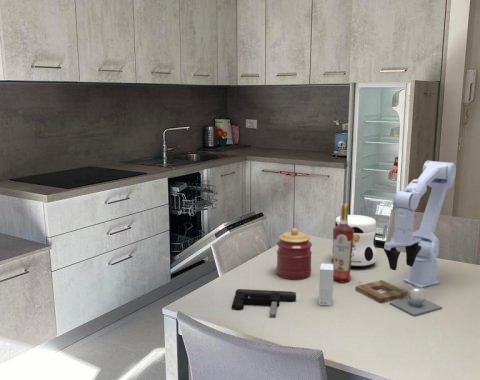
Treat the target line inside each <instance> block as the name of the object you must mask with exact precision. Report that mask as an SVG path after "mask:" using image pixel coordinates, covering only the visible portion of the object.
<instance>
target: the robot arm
mask: <svg viewBox="0 0 480 380" xmlns="http://www.w3.org/2000/svg"><path fill="white" fill-rule="evenodd" d="M456 174H457V167H456V164H455V163H454V162H447V161H445V162H444V161H434V160H430V159H429V160H426V161H424V164H423V166H422V173H420V175H419V177H418V178H417V179H412V180H411V181H410V182H409V183H408V185H407V186H406V187H404V189H403V190H398V191H397V192H395V193H394V195H393V198H392V199H393V200H392V206H393V212H394V214H395V218H394V234H393V235H394V236H393V237H392V239H391V240H389V241H388V242H384V246H383V251H384V253H385V255H386V257H387V260H388V265H389V266H388V267H389V269H390V270H393V271H397V267H398V262H399V257H400V255H401V251H399V250H398V249H399V248H403V247H404V248H405V254H406V257H405V258H406V259H405V260H406V261H405V262H406V266H409V276H408V277H406V278H403V281H404V282H406V283H408V284H411V285H412V286H414V285H415V286H421V287H423V288H425V287H428V286H432V285H437V284H439V283H440V281H438V276H439V275H438V273H439V263H438V260H437V257H438V255H439V251H440V250H439V249H440V240H439V238H438V236H436V235H435V231H436V228H437V223H438V221H439V217H440V214H441V210H442V207H443V204H444V200H445V197H446V195H447V190H449V189H451V188H452V187H453V185H454V183H455V178H456ZM427 187H430V188H431V190H430V194H429V197H428V201H427V203H426V206H425V210H424V212H423V217H422V220H421V222H420V226H419V228H418V230H415V231H414V222H415V211H416V210H417V209H418V207H419V203H420V201H421V198H422V196H424V195H425V193H427V191H428V190H427Z"/></svg>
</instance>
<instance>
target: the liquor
mask: <svg viewBox="0 0 480 380" xmlns="http://www.w3.org/2000/svg"><path fill="white" fill-rule="evenodd" d="M348 212H349V203H346V202H345V203H344V202H343V203H340V215H339V216H340V224H339V225H338V226H336V227H335V226H334V227H333V228H332V247H333V255H332V259H333V263H332V264H333V268H334V270H333V280H335V281H337V282H339V283H340V282H341V283H345V282H348V281H349V280H350V279H352V276H351V268H352V267H351V256H352V247H353V236H354V229H353V228H352V227H350V226H348V216H347V215H348Z"/></svg>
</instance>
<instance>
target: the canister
mask: <svg viewBox="0 0 480 380" xmlns="http://www.w3.org/2000/svg"><path fill="white" fill-rule="evenodd" d="M278 239H279V240H278V241H277V242H276V246H277V250H276V274H277V275H278V276H279V277H280V278H283V279H288V280H303V279H306V278H309V277H310V276H311V273H312V255H313V254H312V252H313V251H312V250H311V247H312V245H313V243H312V242H311V241H310V239H311V238H310V236H309V235H307V234H306V233H305V232H303V231H299V229H298V228H296V227H294V228H291V231H290V230H289V231H285V232H284V233H282V234H280V235H279V236H278Z"/></svg>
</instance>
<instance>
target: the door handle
mask: <svg viewBox="0 0 480 380" xmlns="http://www.w3.org/2000/svg"><path fill="white" fill-rule="evenodd" d="M280 301H284V302H285V301H286V302H287V301H288V302H293V301H297V291H296V292H295V291H288V290H287V291H284V290H266V289H249V288H248V289H246V288H244V289H243V288H239V289H237V290H235V294H234V297H233V301H232V303H231V308H232V310H235V311H241V310H243V309H244V308H245V306H261V307H270V309H269V310H270V311H269V318H270V319H271V318H273V319H274V318H275V319H276V317H277V310H278V308H279V307H280Z"/></svg>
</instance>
